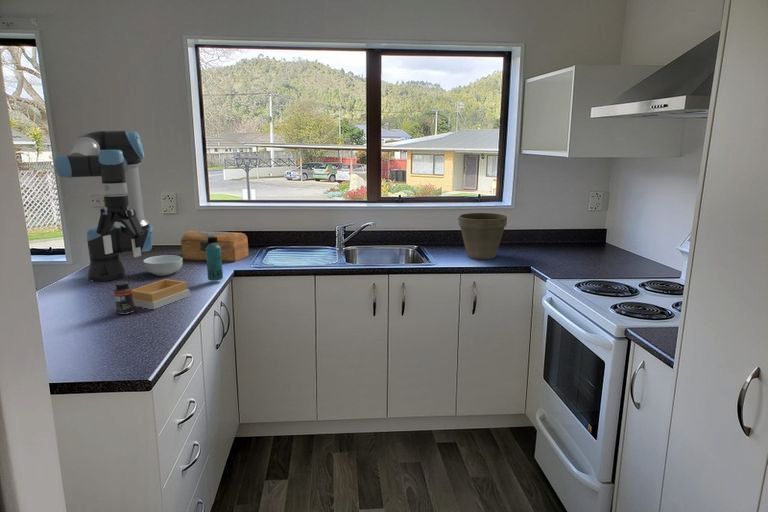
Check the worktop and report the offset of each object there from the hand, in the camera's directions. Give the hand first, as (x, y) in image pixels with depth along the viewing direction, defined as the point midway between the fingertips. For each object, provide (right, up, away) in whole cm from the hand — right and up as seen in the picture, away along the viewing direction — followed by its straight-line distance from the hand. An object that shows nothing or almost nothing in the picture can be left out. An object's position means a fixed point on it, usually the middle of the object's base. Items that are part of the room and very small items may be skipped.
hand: (123, 255), depth 184 cm
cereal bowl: (-9, -9, +56) cm, 57 cm away
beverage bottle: (+19, -12, +42) cm, 48 cm away
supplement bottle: (-1, -21, +4) cm, 22 cm away
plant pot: (+144, -1, +88) cm, 168 cm away
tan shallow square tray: (+4, -18, +18) cm, 25 cm away
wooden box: (+5, -2, +86) cm, 86 cm away
